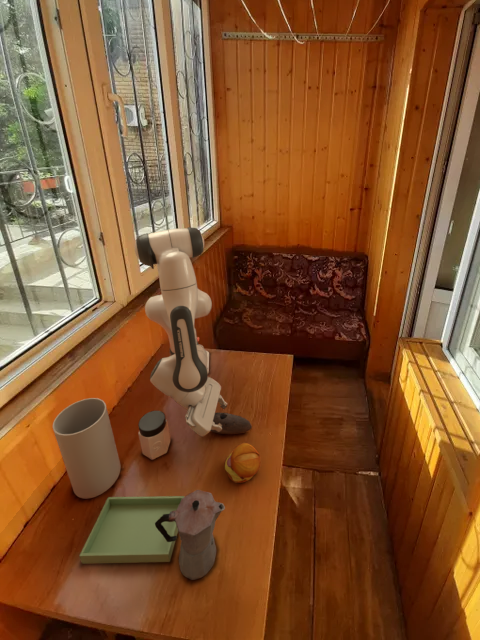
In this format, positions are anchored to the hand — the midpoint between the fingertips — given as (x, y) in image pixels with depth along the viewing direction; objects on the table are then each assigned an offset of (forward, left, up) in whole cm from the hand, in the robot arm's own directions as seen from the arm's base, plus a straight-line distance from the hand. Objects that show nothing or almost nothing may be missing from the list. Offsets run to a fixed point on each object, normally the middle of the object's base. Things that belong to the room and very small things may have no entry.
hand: (223, 417), depth 108 cm
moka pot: (+36, -1, -7) cm, 36 cm away
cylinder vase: (+16, -36, -7) cm, 40 cm away
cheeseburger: (+14, +8, -7) cm, 18 cm away
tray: (+30, -18, -7) cm, 35 cm away
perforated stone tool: (0, +2, -7) cm, 7 cm away
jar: (+6, -22, -7) cm, 24 cm away
